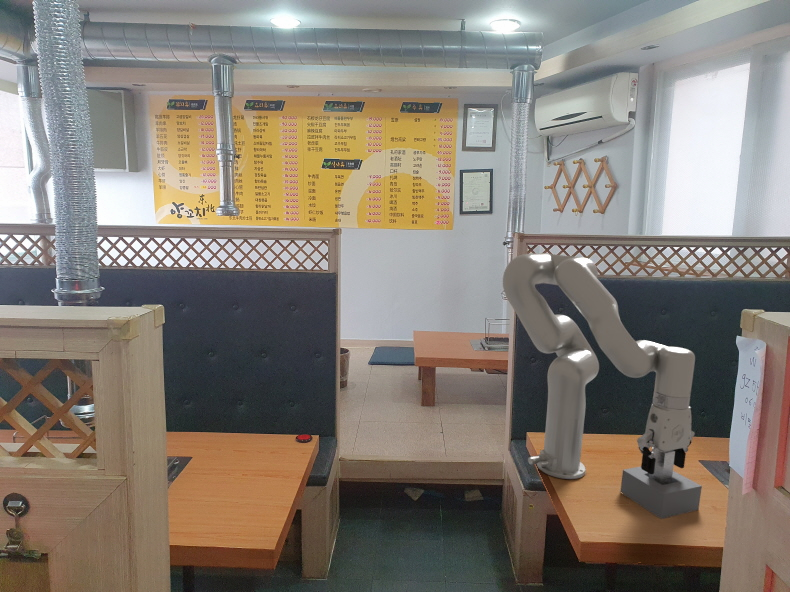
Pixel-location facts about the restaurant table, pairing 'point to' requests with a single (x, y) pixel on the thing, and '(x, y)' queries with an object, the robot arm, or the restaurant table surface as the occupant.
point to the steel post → (663, 467)
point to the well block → (661, 493)
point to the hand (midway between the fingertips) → (662, 468)
